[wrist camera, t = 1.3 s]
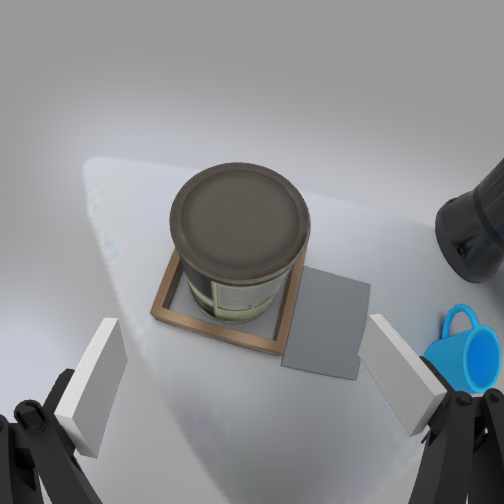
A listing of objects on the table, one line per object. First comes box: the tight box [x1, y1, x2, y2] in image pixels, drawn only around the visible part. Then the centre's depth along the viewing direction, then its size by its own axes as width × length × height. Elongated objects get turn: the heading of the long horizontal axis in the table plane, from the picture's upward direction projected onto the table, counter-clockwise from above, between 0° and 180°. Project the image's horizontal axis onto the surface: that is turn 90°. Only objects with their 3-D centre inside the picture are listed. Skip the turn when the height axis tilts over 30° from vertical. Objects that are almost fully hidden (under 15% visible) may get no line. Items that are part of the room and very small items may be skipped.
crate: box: [150, 245, 307, 356], centre depth 32 cm, size 14×14×3 cm
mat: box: [281, 266, 370, 380], centre depth 32 cm, size 9×12×1 cm
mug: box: [424, 304, 502, 394], centre depth 28 cm, size 12×8×8 cm
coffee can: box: [170, 163, 310, 324], centre depth 27 cm, size 10×10×14 cm
